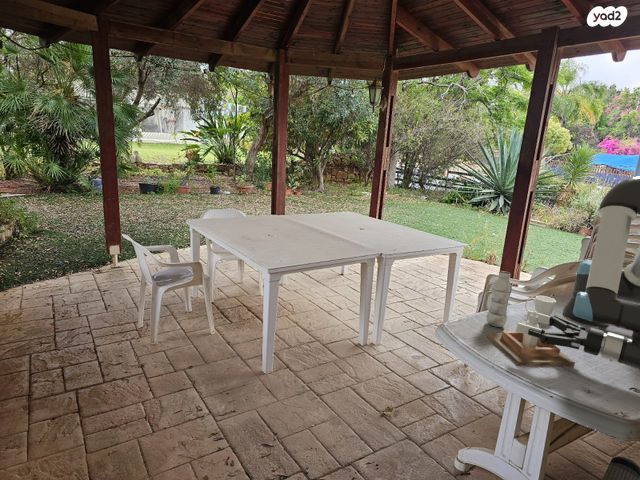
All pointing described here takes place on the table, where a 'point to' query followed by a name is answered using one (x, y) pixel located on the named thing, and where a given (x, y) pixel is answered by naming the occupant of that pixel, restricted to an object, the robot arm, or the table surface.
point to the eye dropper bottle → (527, 339)
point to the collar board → (529, 351)
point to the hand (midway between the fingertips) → (522, 320)
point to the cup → (543, 305)
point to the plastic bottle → (499, 300)
